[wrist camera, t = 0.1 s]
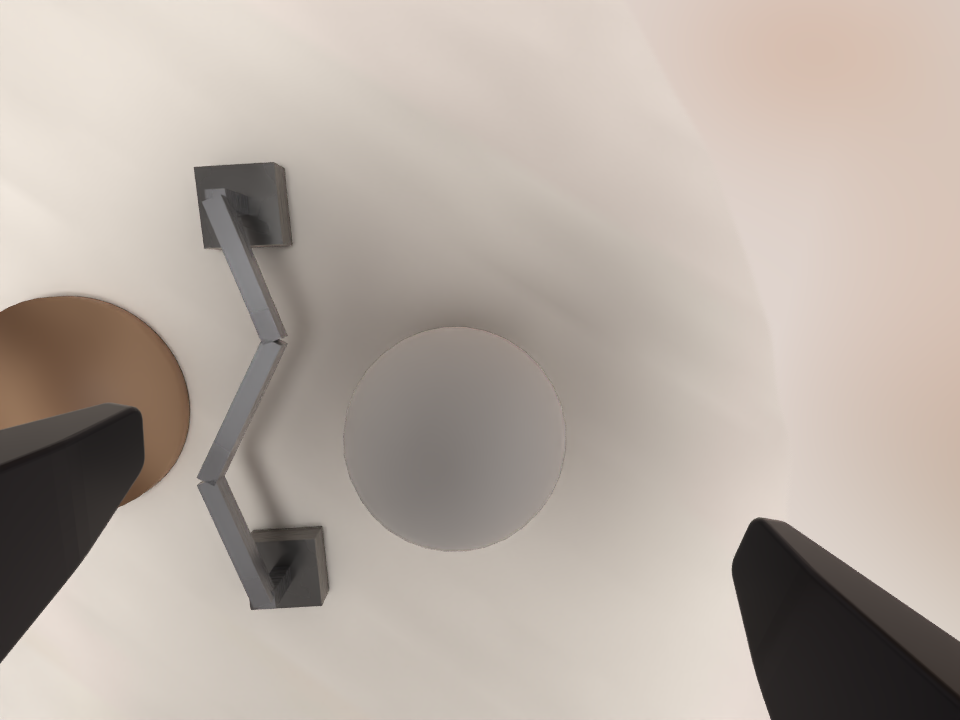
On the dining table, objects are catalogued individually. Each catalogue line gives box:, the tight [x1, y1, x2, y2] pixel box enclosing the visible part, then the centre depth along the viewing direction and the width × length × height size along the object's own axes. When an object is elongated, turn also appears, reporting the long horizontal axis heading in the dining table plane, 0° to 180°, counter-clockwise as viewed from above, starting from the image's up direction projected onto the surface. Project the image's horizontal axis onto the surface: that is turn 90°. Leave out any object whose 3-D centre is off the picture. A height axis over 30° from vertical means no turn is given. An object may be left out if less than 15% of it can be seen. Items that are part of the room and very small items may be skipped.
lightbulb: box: [343, 327, 566, 552], centre depth 18 cm, size 6×6×11 cm
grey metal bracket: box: [194, 162, 329, 610], centre depth 22 cm, size 18×4×3 cm, turn 3°
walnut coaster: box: [0, 296, 190, 507], centre depth 23 cm, size 9×9×1 cm
